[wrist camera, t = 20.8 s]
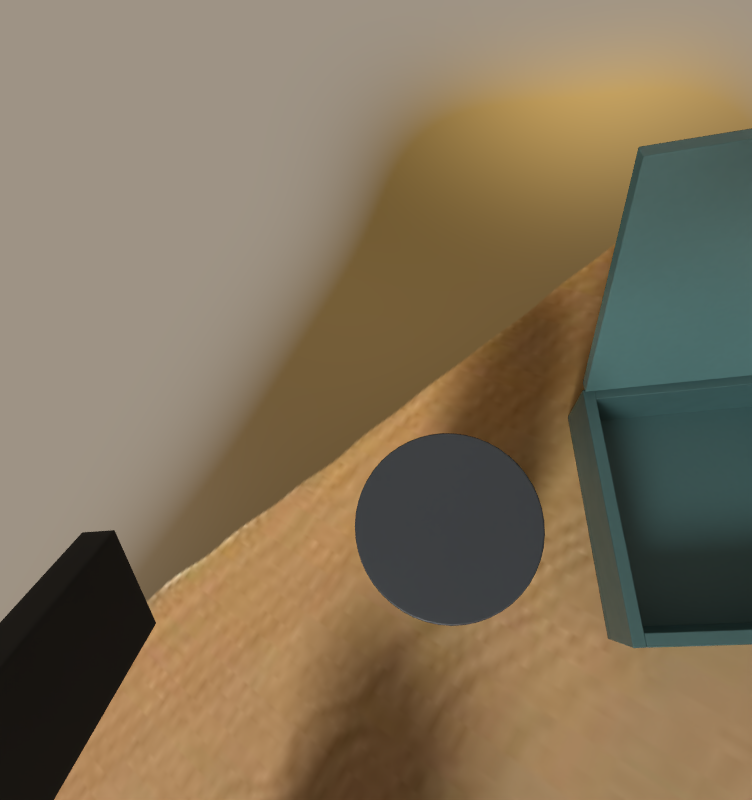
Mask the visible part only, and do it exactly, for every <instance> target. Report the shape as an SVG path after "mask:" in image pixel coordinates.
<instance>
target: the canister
mask: <svg viewBox="0 0 752 800" xmlns="http://www.w3.org/2000/svg"><path fill="white" fill-rule="evenodd" d="M355 535H356V543H357V548H358V552H359V556H360V559H361V562H362V564H363V566H364V569H365V571H366V573H367V575H368V576H369V578H370V580H371V581H372V583H373V584H374V586H375V587H376V588H377V589H378V591H379V592H380V593H381V594H382V595H383V596H384V597H385V598H386V599H387V600H388V601H389V602H390V603H391V604H393V605H394V606H395V607H397V608H398V609H400V610H401V611H403V612H404V613H406V614H408V615H410V616H412V617H414V618H417V619H419V620H422V621H425V622H429V623H433V624H438V625H449V626H455V625H467V624H472V623H476V622H480V621H483V620H485V619H488V618H491V617H492V616H494V615H496V614H498V613H500V612H502V611H503V610H504V609H506V608H507V607H509V606H510V605H511V604H513V603H514V602H515V601H516V600H517V599H518V598H519V597H520V596H521V595H522V593H523V592H524V591H525V589H526V588H527V587H528V585H529V584H530V582H531V580H532V579H533V577H534V575H535V573H536V571H537V568H538V566H539V563H540V560H541V556H542V552H543V548H544V537H545V529H544V518H543V512H542V507H541V504H540V501H539V498H538V495H537V493H536V491H535V489H534V487H533V485H532V483H531V481H530V480H529V478H528V477H527V475H526V474H525V472H524V471H523V470H522V469H521V468H520V466H519V465H518V464H517V463H516V462H515V461H514V460H513V459H512V458H511V457H510V456H508V455H507V454H506V453H504V452H503V451H502V450H500V449H499V448H497V447H495V446H493V445H492V444H490V443H488V442H485V441H483V440H480V439H478V438H475V437H471V436H467V435H461V434H449V433H442V434H433V435H428V436H424V437H420V438H417V439H414V440H412V441H409V442H407V443H405V444H404V445H402V446H400V447H398V448H397V449H395V450H394V451H393V452H391V453H390V454H389V455H387V456H386V457H385V458H384V459H383V460H382V461H381V462H380V463H379V464H378V466H377V467H376V468H375V469H374V470H373V472H372V473H371V475H370V476H369V478H368V480H367V481H366V484H365V486H364V488H363V490H362V492H361V495H360V498H359V501H358V506H357V511H356V519H355Z"/></svg>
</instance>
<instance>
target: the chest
mask: <svg viewBox="0 0 752 800" xmlns="http://www.w3.org/2000/svg"><path fill="white" fill-rule="evenodd" d="M568 421H569V426H570V432H571V437H572V443H573V448H574V454H575V459H576V465H577V470H578V476H579V481H580V487H581V492H582V498H583V503H584V509H585V514H586V520H587V525H588V531H589V536H590V542H591V547H592V553H593V558H594V564H595V569H596V575H597V580H598V586H599V591H600V597H601V602H602V608H603V613H604V619H605V624H606V630H607V635H608V639H611V640H614V641H616V642H619V643H622V644H625V645H627V646H630V647H633V648H646V647H681V646H714V645H747V644H752V375H749V376H739V377H728V378H718V379H708V380H698V381H688V382H678V383H668V384H658V385H648V386H638V387H628V388H618V389H608V390H598V391H588V392H585V390H583V391H582V393H581V394H580V396H579V398H578V400H577V402H576V403H575V405H574V407H573V409H572V411H571V412H570V414H569V416H568Z"/></svg>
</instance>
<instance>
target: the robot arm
mask: <svg viewBox="0 0 752 800" xmlns="http://www.w3.org/2000/svg"><path fill="white" fill-rule="evenodd" d="M155 624H156V622H155V620H154V618H153V615H152V613H151V611H150V609H149V606H148V604H147V602H146V600H145V597H144V595H143V593H142V591H141V589H140V586H139V584H138V582H137V580H136V577H135V575H134V573H133V571H132V569H131V566H130V564H129V562H128V560H127V557H126V555H125V553H124V551H123V548H122V546H121V544H120V542H119V540H118V537H117V535H116V533H115V531H114V530H113V531H99V532H85V533H81V535H80V536H79V537H78V538H77V539H76V540H75V541H74V542H73V543H72V544H71V546H70V547H69V548H68V549H67V550H66V551H65V552H64V553H63V554H62V555H61V557H60V558H59V559H58V560H57V561H56V562H55V563H54V564H53V565H52V566H51V568H50V569H49V570H48V571H47V572H46V573H45V574H44V575H43V576H42V577H41V578H40V580H39V581H38V582H37V583H36V584H35V585H34V586H33V587H32V588H31V589H30V591H29V592H28V593H27V594H26V595H25V596H24V597H23V598H22V600H20V602H19V603H18V604H17V605H16V606H15V607H14V608H13V609H12V610H11V611H10V613H9V614H8V615H7V616H6V617H5V618H4V619H3V620H2V621H1V622H0V800H54V799H55V797H56V795H57V793H58V792H59V790H60V788H61V786H62V785H63V783H64V781H65V780H66V778H67V776H68V774H69V773H70V771H71V769H72V767H73V766H74V764H75V762H76V761H77V759H78V757H79V755H80V754H81V752H82V750H83V748H84V747H85V745H86V743H87V742H88V740H89V738H90V736H91V735H92V733H93V731H94V729H95V728H96V726H97V724H98V723H99V721H100V719H101V717H102V716H103V714H104V712H105V710H106V709H107V707H108V705H109V704H110V702H111V700H112V698H113V697H114V695H115V693H116V691H117V690H118V688H119V686H120V685H121V683H122V681H123V679H124V678H125V676H126V674H127V672H128V671H129V669H130V667H131V666H132V664H133V662H134V660H135V659H136V657H137V655H138V653H139V652H140V650H141V648H142V647H143V645H144V643H145V641H146V640H147V638H148V636H149V634H150V633H151V631H152V629H153V628H154V626H155Z"/></svg>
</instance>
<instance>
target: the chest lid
mask: <svg viewBox="0 0 752 800" xmlns="http://www.w3.org/2000/svg"><path fill="white" fill-rule="evenodd" d="M749 375H752V129H746V130H740V131H734V132H727V133H721V134H716V135H709V136H703V137H697V138H691V139H684V140H679V141H672V142H666V143H660V144H654V145H648V146H642V147H639V148H638V152H637V156H636V160H635V165H634V169H633V173H632V177H631V182H630V186H629V190H628V194H627V199H626V203H625V207H624V211H623V215H622V220H621V224H620V228H619V232H618V237H617V241H616V245H615V249H614V253H613V258H612V262H611V266H610V270H609V275H608V279H607V283H606V287H605V291H604V296H603V300H602V304H601V308H600V313H599V317H598V321H597V325H596V329H595V334H594V338H593V342H592V346H591V351H590V355H589V359H588V363H587V367H586V372H585V376H584V380H583V386H584V389H585V392H588V391H598V390H608V389H618V388H628V387H638V386H648V385H658V384H668V383H678V382H688V381H698V380H708V379H718V378H728V377H739V376H749Z"/></svg>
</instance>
